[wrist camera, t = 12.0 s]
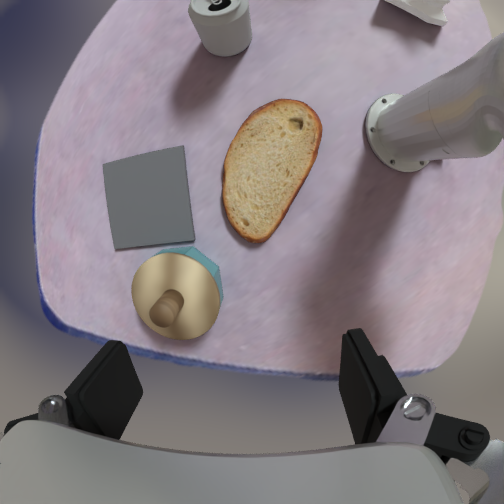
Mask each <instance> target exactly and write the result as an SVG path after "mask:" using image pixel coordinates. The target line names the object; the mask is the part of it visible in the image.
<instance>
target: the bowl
mask: <svg viewBox="0 0 504 504" xmlns="http://www.w3.org/2000/svg"><path fill="white" fill-rule="evenodd" d="M169 252H173V253H180V254H184V255H187V256H190V257H192V258H194V259H195V260H197V261H198V262H200V263H201V264H202V265H203V266H205V267H206V268H207V270H208V271H209V272H210V273H211V275H212V276H213V277H214V279H215V281H216V283H217V286H218V288H219V293H220V306H221V303H222V300H223V290H222V283H221V277H220V270H219V266H217V265H216V264H215V263H214V262H212V261H211V260H210V259H209V258H207V257H206V256H205V255H203V254H202V253H201V252H200V251H198V250H197V249H196V248H195V247H193V246H190V247H181V248H171V249H163V250H161V251H160V252H158V253H157V254H156V255H158V254H161V253H169ZM154 256H155V255H154Z"/></svg>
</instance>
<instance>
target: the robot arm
mask: <svg viewBox="0 0 504 504" xmlns="http://www.w3.org/2000/svg"><path fill="white" fill-rule="evenodd" d="M382 102H383V103H382ZM365 126H366V134H367V138H368V141H369V144H370V146H371V148H372V150H373V151H374V153H375V154H376V156H377V157H378V158H379V159H380V160H381V161H382V162H383V163H384V164H385V165H387V166H388V167H390V168H392V169H394V170H397V171H400V172H414V171H418V170H420V169H422V168H423V167H424V166H426V165H427V164H428V162H429V161H430V160H440V159H457V158H478V157H483V156H486V155H488V154H490V153H491V152H492V151H494V150H495V149H496V147H497V146H498V145H499V143H500V142H501V140H502V138H503V139H504V33H502V34H500V35H498V36H497V37H495V38H494V39H492V40H491V41H490V42H489V43H487V44H486V45H485V46H484V47H483V48H482V49H481V50H479V51H478V52H477V53H476V54H475V55H473V56H472V57H471V58H470V59H468V60H467V61H465V62H464V63H462V64H461V65H459V66H457V67H455V68H454V69H452V70H450V71H449V72H447V73H445V74H443V75H441V76H439V77H437V78H435V79H433V80H431V81H430V82H428V83H426V84H424V85H422V86H420V87H419V88H417V89H415V90H413V91H411V92H409V93H408V94H406V95H401V94H387V95H384V96H382V97H380V98H378V99H377V100H376V101H375V102H374V103H373V104H372V105H371V106H370V108H369V110H368V113H367V116H366V124H365ZM370 129H371V130H372V132H371V131H370ZM390 161H391V163H390ZM339 391H340V394H341V397H342V401H343V404H344V407H345V411H346V414H347V417H348V421H349V424H350V427H351V431H352V434H353V438H354V441H355V445H349V446H341V447H334V448H326V449H318V450H310V451H299V452H287V453H269V454H222V453H221V454H220V453H203V452H192V451H181V450H173V449H165V448H159V447H152V446H147V445H141V444H136V443H131V442H126V441H122V440H119V439H120V438H121V436H122V434H123V432H124V430H125V427H126V426H127V424H128V422H129V420H130V418H131V416H132V414H133V412H134V411H135V409H136V407H137V405H138V403H139V401H140V399H141V397H142V395H143V389H142V386H141V384H140V381H139V379H138V376H137V374H136V371H135V369H134V366H133V364H132V361H131V358H130V356H129V353H128V350H127V347H126V345H125V344H123V343H122V342H121V341H116V340H109V341H108V342H107V343H106V344H105V345H104V346H103V347H102V349H101V350H100V351H99V352H98V353H97V354H96V355H95V356H94V358H93V359H92V360H91V361H90V362H89V363H88V365H87V366H86V367H85V368H84V369H83V370H82V371H81V373H80V374H79V375H78V376H77V377H76V379H75V380H74V381H73V382H72V383H71V384H70V386H69V387H68V388H67V389H66V390H65V392H64V393H65V394H66V396H67V398H66V399H64V398H63V397H62V396H60V395H51V396H48V397H46V398H45V399H44V400H42V401H41V403H40V405H39V408H38V413H36V414H33V415H30V416H27V417H23V418H20V419H16V420H13V421H10V422H9V423H8V424H7V426H6V428H5V430H4V434H3V433H0V504H464V502H463V500H462V497H461V495H460V493H459V490H458V488H457V486H456V484H455V482H454V481H456V482H458V483H459V484H461V486H460V488H462V489H464V490H465V491H466V492H467V493H468V494H469V498H470V500H469V504H504V443H503V442H502V441H500V440H498V439H496V440H495V441H492V440H490V435H489V432H488V430H487V429H486V428H485V427H484V426H483V425H481V424H478V423H475V422H470V421H466V420H462V419H458V418H454V417H450V416H446V415H443V414H439V413H435V410H436V407H435V404H434V402H433V401H432V399H430V398H429V397H427V396H424V395H422V394H410V395H407V394H406V392H405V390H404V389H403V387H402V385H401V383H400V382H399V380H398V378H397V376H396V375H395V373H394V371H393V370H392V368H391V366H390V365H389V363H388V361H387V360H386V358H385V357H384V356H383V355H381V356H377V354H376V352H375V350H374V349H373V347H372V345H371V344H370V342H369V340H368V338H367V337H366V335H365V333H364V332H363V330H362V329H361V328H358V329H351V330H348V331H347V334H343V336H342V350H341V364H340V375H339Z"/></svg>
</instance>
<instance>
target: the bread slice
mask: <svg viewBox="0 0 504 504" xmlns="http://www.w3.org/2000/svg"><path fill="white" fill-rule="evenodd" d="M321 137H322V124H321V121H320V119H319V117H318V115H317V114H316V112H315V111H314V110H313V109H312V108H311V107H309V106H308V105H307V104H305V103H304V102H301V101H297V100H290V99H278V100H275V101H272V102H269V103H267V104H265V105H263V106H261V107H259V108H257V109H256V110H254V111H253V112H252V113H251V114H250V115H249V117H248V118H247V119H246V120H245V121H244V122H243V124H242V125H241V127H240V129H239V130H238V132H237V134H236V136H235V138H234V139H233V140H232V142H231V144H230V147H229V149H228V152H227V155H226V157H225V161H224V174H223V184H222V188H223V191H222V195H223V204H224V208H225V211H226V214H227V218H228V220H229V222H230V224H231V226H232V227H233V228H234V229H235V231H236V232H237V233H238V234H239V235H240V236H241V237H242V238H244V239H246V240H247V241H248V242H251V243H262V242H264V241H266V240H267V239H268V238H269V237H270V236H271V234H272V233H273V232H274V231H275V230H276V229H277V227H278V226H279V225H280V223H281V221H282V220H283V218H284V217H285V215H286V213H287V212H288V210H289V207H290V205H291V204H292V202H293V200H294V199H295V197H296V195H297V194H298V192H299V190H300V188H301V187H302V185H303V183H304V182H305V180H306V178H307V176H308V174H309V172H310V170H311V168H312V166H313V164H314V162H315V160H316V157H317V154H318V148H319V145H320V141H321Z"/></svg>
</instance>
